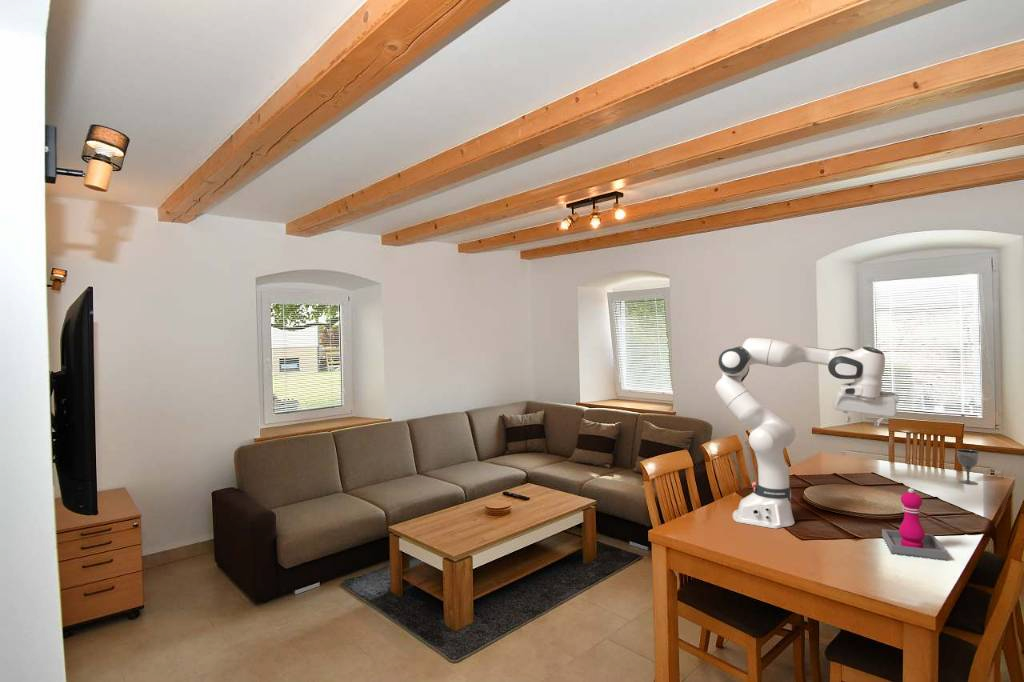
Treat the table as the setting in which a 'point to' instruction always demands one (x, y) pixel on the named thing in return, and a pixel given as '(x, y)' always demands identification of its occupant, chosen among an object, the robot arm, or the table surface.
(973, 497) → the table surface
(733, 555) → the table surface
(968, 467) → the wine glass
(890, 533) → the tray
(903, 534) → the pepper mill
